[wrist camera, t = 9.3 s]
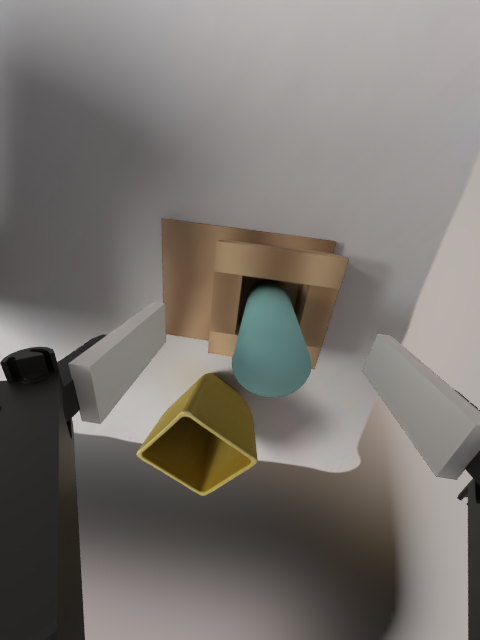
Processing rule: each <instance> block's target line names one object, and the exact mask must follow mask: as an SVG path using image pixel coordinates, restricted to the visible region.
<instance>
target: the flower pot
mask: <svg viewBox="0 0 480 640" xmlns="http://www.w3.org/2000/svg"><path fill="white" fill-rule="evenodd" d="M137 456H138V457H139V458H140V459H142V460H143V461H145V462H147V463H148V464H150V465H152V466H153V467H155V468H157V469H158V470H160V471H162V472H163V473H165V474H167V475H169V476H170V477H172V478H173V479H175V480H176V481H178V482H180V483H181V484H183V485H185V486H186V487H188V488H189V489H191V490H193V491H194V492H196V493H198V494H200V495H201V496H204V495H207V494H209V493H210V492H212V491H214V490H216V489H217V488H219V487H220V486H222V485H224V484H225V483H227V482H228V481H230V480H231V479H233V478H235V477H236V476H238V475H239V474H241V473H243V472H244V471H246V470H247V469H249V468H251V467H252V466H253V465H255V464H256V463H257V452H256V442H255V432H254V423H253V418H252V415H251V412H250V409H249V407H248V405H247V404H246V402H245V401H244V399H243V398H242V396H241V395H240V394H239V393H238V392H237V391H235V390H234V389H233V388H231V387H230V386H229V385H227V384H226V383H225V382H223V381H222V380H221V379H219V378H218V377H217V376H216V375H214V374H213V373H208V374H205V375H204V376H202V377H201V378H200V379H199V380H198V381H197V382H196V383H195V384H194V385H193V386H192V387H191V388H190V389H189V390H188V391H187V392H186V393H185V394H183V395H182V396H181V397H180V398H179V399H178V400H177V401H176V402H175V403H174V404H173V405H172V406H171V407H170V408H169V409H168V410H167V411H166V412H165V413H164V414H163V416H162V417H161V418H160V420H159V421H158V423H157V424H156V426H155V427H154V429H153V430H152V431H151V433H150V434H149V436H148V437H147V439H146V440H145V441H144V443H143V444H142V446H141V447H140V449H139V450H138V452H137Z"/></svg>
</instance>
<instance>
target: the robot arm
mask: <svg viewBox="0 0 480 640" xmlns="http://www.w3.org/2000/svg"><path fill="white" fill-rule="evenodd" d="M165 342H166V334H165V303H159V302H152V303H150V304H149V305H148V306H146V307H145V308H143V309H142V310H141V311H139V312H138V313H137V314H135V315H134V316H132V317H131V318H130V319H128V320H127V321H126V322H124V323H123V324H122V325H120V326H119V327H117V328H116V329H115V330H113V331H112V332H111V333H109V334H108V335H101V336H98V337H95V338H93V339H91V340H89V341H88V342H87V343H85V344H84V345H83V346H81V347H79V348H78V349H76V351H73V352H72V353H71V354H69V355H68V356H66V357H65V358H63V359H62V360H60V361H59V362H58V363H57V361H56V357H55V353H54V351H53V349H50V348H48V347H34V348H28V349H23V350H20V351H17V352H14V353H12V354H10V355H8V356H7V357H5V358H4V359H3V360H2V361H1V362H0V363H1V366H2V368H3V371H4V374H5V376H6V379H7V381H0V640H85V635H84V634H85V633H84V616H83V599H82V598H83V597H82V580H81V579H82V578H81V560H80V542H79V523H78V506H77V487H76V470H75V451H74V432H73V422H72V417H73V416H74V415H75V414H76V413H77V412H78V411H80V415H81V419H82V421H86V422H92V423H98V424H101V423H102V422H103V420H104V419H105V418H106V417H107V415H108V414H109V413H110V412H111V410H112V409H113V408H114V406H115V405H116V404H117V403H118V401H119V400H120V399H121V398H122V396H123V395H124V394H125V393H126V391H127V390H128V389H129V388H130V386H131V385H132V384H133V382H134V381H135V380H136V379H137V377H138V376H139V375H140V374H141V372H142V371H143V370H144V369H145V367H146V366H147V365H148V364H149V362H150V361H151V360H152V358H153V357H154V356H155V355H156V353H157V352H158V351H159V350H160V348H161V347H162V346H163V345H164V343H165ZM362 371H363V373H364V374H365V376H366V377H367V378H368V380H369V381H370V383H371V384H372V386H373V387H374V389H375V390H376V391H377V393H378V394H379V396H380V397H381V399H382V400H383V401H384V403H385V404H386V406H387V407H388V409H389V410H390V411H391V413H392V414H393V416H394V417H395V419H396V420H397V421H398V423H399V424H400V426H401V427H402V428H403V430H404V431H405V433H406V434H407V436H408V437H409V439H410V440H411V441H412V443H413V444H414V446H415V447H416V449H417V450H418V451H419V453H420V454H421V456H422V457H423V459H424V460H425V461H426V463H427V464H428V466H429V467H430V469H431V470H432V472H433V473H434V474H435V476H436V477H443V478H449V479H455V480H457V478H458V477H459V476H460V475H461V474H462V472H463V471H464V470H465V469H466V470H467V471H468V473H469V474H470V475H471V476H472V477H473V479H472V480H471V482H470V483H469V484H468V485H467V486H466V487H465V488H464V489H463V490H462V492H461V493H460V494H459V495H458V497H457V498H458V499H459V500H462V499H463V498H464V497H468V503H467V505H468V628H469V629H468V633H469V634H468V636H469V638H468V640H480V410H478V408H477V407H476V406H474V405H473V404H472V403H469V401H468V400H467V399H466V398H465V397H464V396H462V395H461V394H460V393H459V392H457V391H456V390H454V389H453V388H451V387H450V386H449V385H448V384H447V383H446V382H444V381H443V380H442V379H441V378H440V377H439V376H437V375H436V374H435V373H434V372H433V371H432V370H430V369H429V368H428V367H427V366H426V365H424V364H423V363H422V362H421V361H420V360H419V359H417V358H416V357H415V356H414V355H413V354H412V353H410V352H409V351H408V350H407V349H406V348H405V347H403V346H402V345H401V344H400V343H399V342H398V341H396V340H395V339H394V338H393V337H392V336H391V335H384V334H377V336H376V339H375V341H374V343H373V346H372V348H371V351H370V353H369V355H368V358H367V360H366V362H365V365H364V367H363V369H362Z"/></svg>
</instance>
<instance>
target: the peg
mask: <svg viewBox="0 0 480 640" xmlns="http://www.w3.org/2000/svg"><path fill="white" fill-rule="evenodd" d="M232 369H233V373H234V375H235V377H236V379H237V380H238V382H239V383H240V384H241V385H242V386H243V387H244V388H245V389H247V390H248V391H250V392H252V393H254V394H257V395H260V396H264V397H280V396H285V395H288V394H290V393H293V392H294V391H296V390H297V389H299V388H300V387H301V386H302V385H303V384H304V383H305V382H306V380H307V378H308V377H309V374H310V371H311V358H310V354H309V352H308V349H307V346H306V343H305V340H304V337H303V335H302V332H301V329H300V326H299V323H298V320H297V318H296V315H295V312H294V309H293V306H292V303H291V301H290V298H289V295H288V292H287V290H286V288H285V286H284V285H283V284H282V283H281V282H279V281H277V280H271V279H262V280H260V281H258V282H256V283H255V284H254V285H253V286H252V287H251V289H250V291H249V295H248V299H247V303H246V306H245V310H244V314H243V318H242V322H241V326H240V330H239V334H238V338H237V342H236V346H235V350H234V354H233V358H232Z"/></svg>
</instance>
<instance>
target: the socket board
mask: <svg viewBox="0 0 480 640" xmlns="http://www.w3.org/2000/svg"><path fill="white" fill-rule="evenodd" d="M335 245H336V242H335V241H329V240H322V239H314V238H307V237H299V236H292V235H284V234H277V233H269V232H262V231H254V230H247V229H239V228H232V227H224V226H217V225H209V224H202V223H194V222H186V221H179V220H171V219H162V263H163V303H165V334H170V335H176V336H183V337H189V338H195V339H202V340H208V341H209V348H208V353H213V354H219V355H225V356H232V357H233V354H234V350H235V346H236V342H237V338H238V334H239V330H240V326H241V322H242V318H243V314H244V310H245V306H246V303H247V299H248V295H249V291H250V289H251V287H252V286H253V285H254V284H255V283H256V282H258V281H260V280H262V279H271V280H277V281H279V282H281V283H282V284H283V285H284V286H285V288H286V290H287V292H288V295H289V298H290V301H291V303H292V306H293V309H294V312H295V315H296V318H297V320H298V323H299V326H300V329H301V332H302V335H303V337H304V340H305V343H306V346H307V349H308V352H309V354H310V358H311V369H315V366H316V363H317V360H318V356H319V353H320V350H321V347H322V343H323V340H324V337H325V334H326V331H327V327H328V324H329V321H330V318H331V314H332V311H333V308H334V305H335V302H336V298H337V295H338V292H339V289H340V285H341V282H342V279H343V276H344V273H345V269H346V266H347V263H348V260H349V259H347V258H344V257H341V256H339V255H336V254H334V253H333V252H334V248H335Z"/></svg>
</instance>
